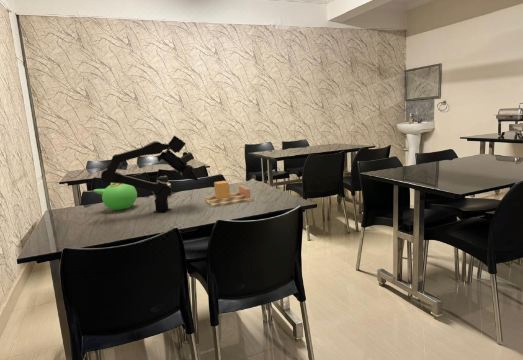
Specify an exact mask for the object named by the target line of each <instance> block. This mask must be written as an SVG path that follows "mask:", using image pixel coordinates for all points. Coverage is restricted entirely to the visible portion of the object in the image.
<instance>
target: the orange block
mask: <svg viewBox="0 0 523 360" xmlns="http://www.w3.org/2000/svg"><path fill="white" fill-rule="evenodd" d="M213 186H214V196H215V199H222V198H228V197H230V194H231V193H230V185H229V181H226V180H221V181H214V182H213Z"/></svg>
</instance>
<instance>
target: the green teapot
mask: <svg viewBox="0 0 523 360" xmlns="http://www.w3.org/2000/svg"><path fill="white" fill-rule="evenodd" d="M93 192H94V193H96V194H99V195H101V200H102V202H103V204H104V206H105V207H106V208H108V209H110V210H116V211H120V210H124V209H128V208H130V207H131V206H132V205H134V204H135V202H136V201H137V198H138V192H137V189H136V188H135V186H131V185H127V184H123V183H110V185H108V186H106V187H105V188H96V189H93Z"/></svg>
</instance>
